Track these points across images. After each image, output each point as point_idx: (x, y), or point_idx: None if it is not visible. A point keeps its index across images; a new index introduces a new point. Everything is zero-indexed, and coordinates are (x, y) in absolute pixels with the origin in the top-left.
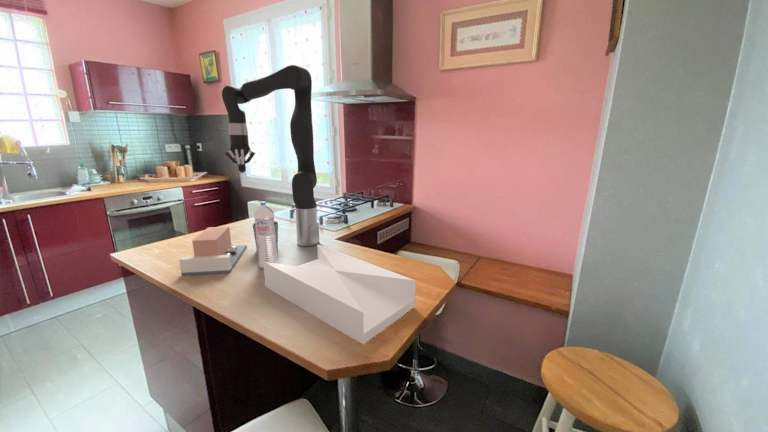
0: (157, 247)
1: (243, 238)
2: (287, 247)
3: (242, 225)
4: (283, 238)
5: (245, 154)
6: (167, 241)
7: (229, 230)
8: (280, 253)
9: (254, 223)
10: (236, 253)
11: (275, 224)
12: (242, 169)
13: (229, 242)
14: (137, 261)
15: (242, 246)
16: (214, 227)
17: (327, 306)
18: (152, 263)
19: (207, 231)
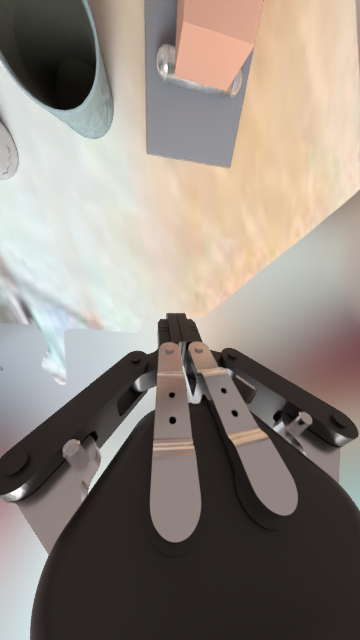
0: (306, 210)
1: (166, 233)
2: (32, 111)
3: None
4: (75, 211)
5: (138, 434)
6: (289, 244)
7: (181, 31)
8: None
9: (96, 66)
10: None
11: (20, 77)
12: (172, 322)
13: (177, 38)
14: (349, 112)
15: (154, 142)
16: (234, 29)
17: None
18: (330, 78)
19: None
